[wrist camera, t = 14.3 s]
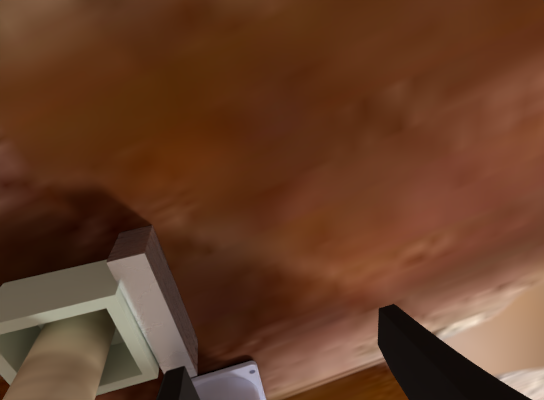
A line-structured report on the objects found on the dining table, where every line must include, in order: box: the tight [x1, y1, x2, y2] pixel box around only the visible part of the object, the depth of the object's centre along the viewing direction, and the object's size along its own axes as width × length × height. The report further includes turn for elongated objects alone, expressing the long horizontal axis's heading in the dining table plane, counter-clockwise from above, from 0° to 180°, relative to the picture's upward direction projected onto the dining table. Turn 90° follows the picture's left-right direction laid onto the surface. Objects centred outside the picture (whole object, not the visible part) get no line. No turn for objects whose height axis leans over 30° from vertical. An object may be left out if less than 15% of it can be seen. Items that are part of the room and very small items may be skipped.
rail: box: [106, 225, 198, 378], centre depth 20 cm, size 11×2×3 cm, turn 9°
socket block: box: [0, 260, 159, 395], centre depth 19 cm, size 8×8×4 cm
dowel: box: [3, 308, 116, 400], centre depth 16 cm, size 4×4×8 cm
